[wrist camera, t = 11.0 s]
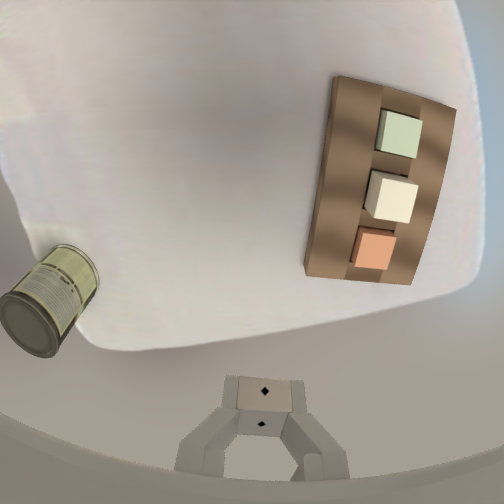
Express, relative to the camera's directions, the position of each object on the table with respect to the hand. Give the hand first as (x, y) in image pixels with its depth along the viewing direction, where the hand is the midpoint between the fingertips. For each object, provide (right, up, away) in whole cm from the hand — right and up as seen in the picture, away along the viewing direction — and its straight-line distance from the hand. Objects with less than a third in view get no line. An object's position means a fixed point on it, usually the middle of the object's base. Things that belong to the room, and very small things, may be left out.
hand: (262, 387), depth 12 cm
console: (+15, +13, +25) cm, 32 cm away
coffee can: (-29, +2, +33) cm, 44 cm away
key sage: (+16, +19, +21) cm, 33 cm away
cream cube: (+15, +12, +23) cm, 30 cm away
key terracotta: (+14, +7, +28) cm, 32 cm away
